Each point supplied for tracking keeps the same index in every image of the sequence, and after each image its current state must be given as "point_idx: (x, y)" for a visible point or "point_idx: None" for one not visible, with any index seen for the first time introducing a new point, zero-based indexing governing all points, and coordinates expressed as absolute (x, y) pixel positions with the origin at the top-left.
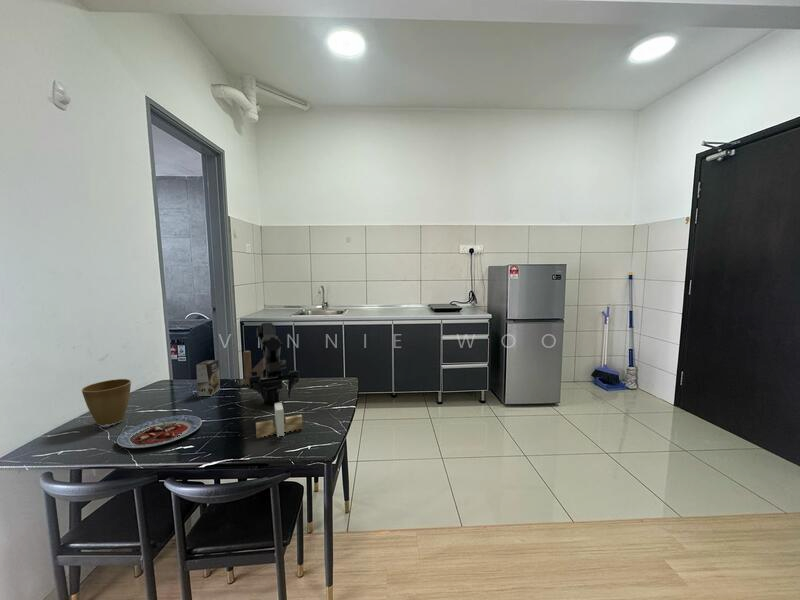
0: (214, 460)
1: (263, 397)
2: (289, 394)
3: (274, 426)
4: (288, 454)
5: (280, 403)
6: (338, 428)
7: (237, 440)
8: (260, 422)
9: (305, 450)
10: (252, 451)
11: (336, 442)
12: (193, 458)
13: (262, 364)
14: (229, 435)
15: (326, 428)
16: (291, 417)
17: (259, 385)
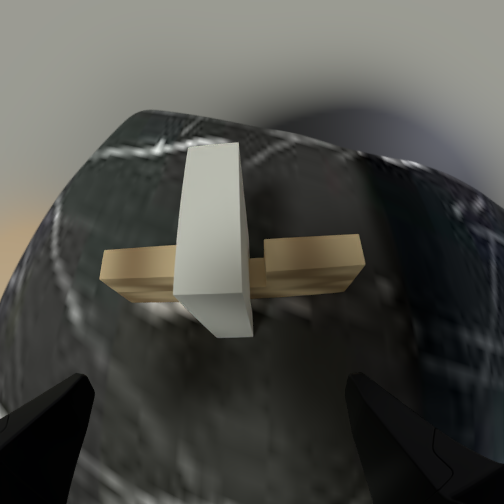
0: (428, 171)
1: (371, 390)
2: (67, 382)
3: (257, 277)
4: (223, 128)
5: (185, 264)
6: (44, 233)
7: (412, 276)
8: (338, 254)
9: (174, 134)
10: (336, 173)
11: (92, 155)
12: (481, 206)
13: None
14: (450, 337)
15: (66, 247)
16: (154, 256)
17: (499, 485)
